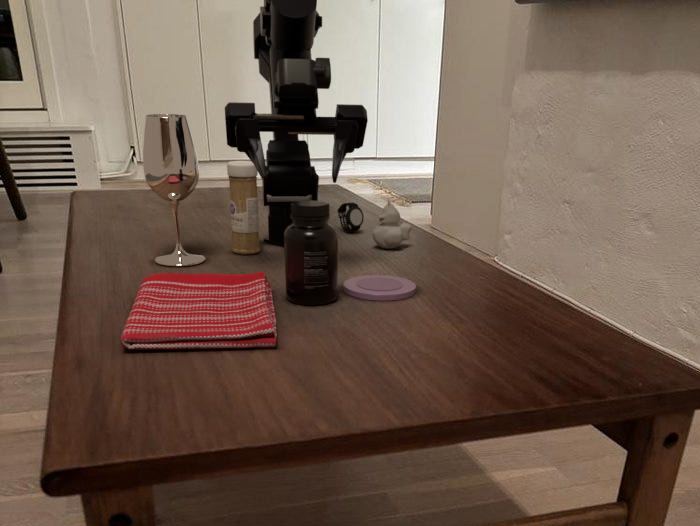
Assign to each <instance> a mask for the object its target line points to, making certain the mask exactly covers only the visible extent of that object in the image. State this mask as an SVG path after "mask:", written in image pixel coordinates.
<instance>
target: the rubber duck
mask: <svg viewBox="0 0 700 526" xmlns="http://www.w3.org/2000/svg"><path fill="white" fill-rule="evenodd" d="M389 198H390V197H389ZM389 198H387V204H385V205H384V206H383V208H382V210H381V213H380V214H379V215H378V216H377V218H378V219H379V220H378V221H379V222H380V223H379V224H378V225H377V226H376V227H375V228H374V230H373V231H372V239H373V241H374V242H375V243H376V245H378V246H379V247H380V248H382V249H389V250H390V249H396V248H397V247H399V246H400V245H402V243H403V241H409V240H410V238H411V237H410V233H411V230H412V225H411V224H410V223H407V222H402V223H401V224H399V222H400V220H401V214H400V212H399V210H398V209H397V208H396V207H395V205H394V204H393V203H391V201H390V199H389Z"/></svg>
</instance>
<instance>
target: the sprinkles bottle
mask: <svg viewBox="0 0 700 526" xmlns="http://www.w3.org/2000/svg"><path fill="white" fill-rule="evenodd" d="M226 172H227V176H228V183H229V185H228V186H229V199H230V201H229V209H230V228H231V243H232V247H231V250H232V252H233V253H234V254H238V255H243V256H244V255H245V256H247V255H255V254H258V253H260V252H261V247H260V222H259V219H260V218H259V197H258V182H257V181H258V180H257V179H258V177H257V176H259V173H258V171H257V169H256V167H255V166H254V164H253V163H252V161H251V160H231V161H228V162H227V163H226Z"/></svg>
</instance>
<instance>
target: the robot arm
mask: <svg viewBox="0 0 700 526" xmlns="http://www.w3.org/2000/svg"><path fill="white" fill-rule="evenodd" d="M317 5H318V0H263V6H259V13H258V14H257V16H256V17H255V18H254V19H253V21H252V27H253V28H252V29H253V31H252V37H253V38H252V39H253V42H252V43H253V59H254V60H257V62H258V72H259V75H260V76H261V77H262V78H263V79H264V80H265V81H266V82H267V83H268V87H269V100H270V102H269V103H270V113H256V103H255V102H237V101H236V102H234V101H232V102H231V101H230V102H228V103H226V105H225V106H224V119H225V120H224V121H225V134H226V145H227V147H230V148H233V149H234V148H236V150H237V152H239V153H244V154H245V155H246V156H247V158H248V159H249V161H252V163H253V164H254V166H255V167H256V169H257V173H258V176H260V178H261V180H262V184H261V185H262V204H263V206H264V207H268V214H267V229H268V230H267V231H268V236H267V237H264V238H263V239H262V240H263V242H265V243H270V244H274V245H277V246H278V245H279V246H282V247H284V233H285V230H286V229H287V227H288V226H290V225H291V224H293V220H292V219H291V203H293V202H297V201H319V181H320V176H319V174H318V173H317V171H316V168H315V167H316V166H314V165H312V163H311V153H310V151H309V144H308V142H307V141H306V140H305V139H304V140H303V139H302V140H301V139H299V135H312V136H313V135H315V136H316V135H317V136H319V135H321V136H326V135H327V136H333V147H332V161H331V162H332V164H331V179H332V183H333V184H336V183H337V180H338V177H339V173H340V171H341V166H342V164H343V161H344V160H345V158H346V156H347V155H348V154H353V153H354V152H355V149H356V150H358V149H360V148H362V147H364V142H365V137H366V132H367V127H368V111H367V108H366V107H365V106H364V105H363V104H347V103H346V104H345V103H344V104H340V103H336V108H335V113H334V114H335V116H318V115H317V110H318V109H319V104H320V103H319V102H320V101H319V91H318V90H329V89H330V88H331V83H332V67H331V59H330V57H316V58H315V60H314V59H313V58H312V48H313V46H314V40H315V38H316V37H317V34H318V32H319V29H320V28H322V27H323V16H322V15H320V14H319V12H318V11H317ZM261 133H272V139H270V140H269V141H268V143H267V149H266V151H265V153H264V149H263V143H262V139H261ZM265 156H266V157H265Z"/></svg>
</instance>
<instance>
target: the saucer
mask: <svg viewBox="0 0 700 526" xmlns="http://www.w3.org/2000/svg"><path fill="white" fill-rule="evenodd" d="M342 288H343V289H342V290H343V292H344V293H345V294H346V295H348V296H350V297H353V298H357V299H360V300H367V301H378V302H383V301H384V302H386V301H388V302H389V301H399V300H404V299H409V298H410V297H413V296H415V294H416V293H417V285H416V283H415V282H414V281H412V280H410V279H409V278H408V279H407V278H405V277H400V276H396V275H386V274H365V275H358V276H353V277H350V278H347V279H346V280H344V281H343V286H342Z"/></svg>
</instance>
